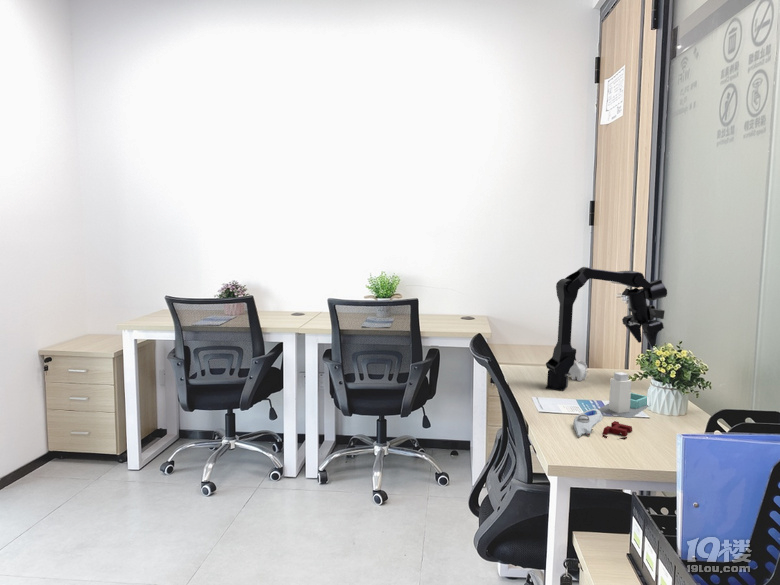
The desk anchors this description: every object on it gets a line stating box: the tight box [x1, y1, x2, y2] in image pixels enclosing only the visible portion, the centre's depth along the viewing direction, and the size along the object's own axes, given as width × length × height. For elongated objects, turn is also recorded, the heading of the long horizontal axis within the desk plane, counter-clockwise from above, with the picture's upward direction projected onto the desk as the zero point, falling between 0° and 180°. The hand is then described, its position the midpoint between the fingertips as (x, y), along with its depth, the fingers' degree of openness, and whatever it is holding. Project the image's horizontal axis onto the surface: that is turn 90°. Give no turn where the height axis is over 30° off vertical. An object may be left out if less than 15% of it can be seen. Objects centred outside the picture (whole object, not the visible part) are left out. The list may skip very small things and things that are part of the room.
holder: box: [630, 392, 647, 409], centre depth 206 cm, size 8×8×2 cm
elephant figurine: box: [567, 359, 589, 382], centre depth 241 cm, size 8×10×7 cm
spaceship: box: [572, 408, 604, 438], centre depth 186 cm, size 23×7×4 cm, turn 149°
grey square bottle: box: [608, 371, 632, 413], centre depth 198 cm, size 4×4×12 cm
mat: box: [597, 403, 650, 419], centre depth 202 cm, size 21×11×1 cm, turn 139°
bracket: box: [602, 420, 633, 441], centre depth 179 cm, size 3×6×10 cm
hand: (646, 344), depth 231 cm, fingers open, 9 cm apart
